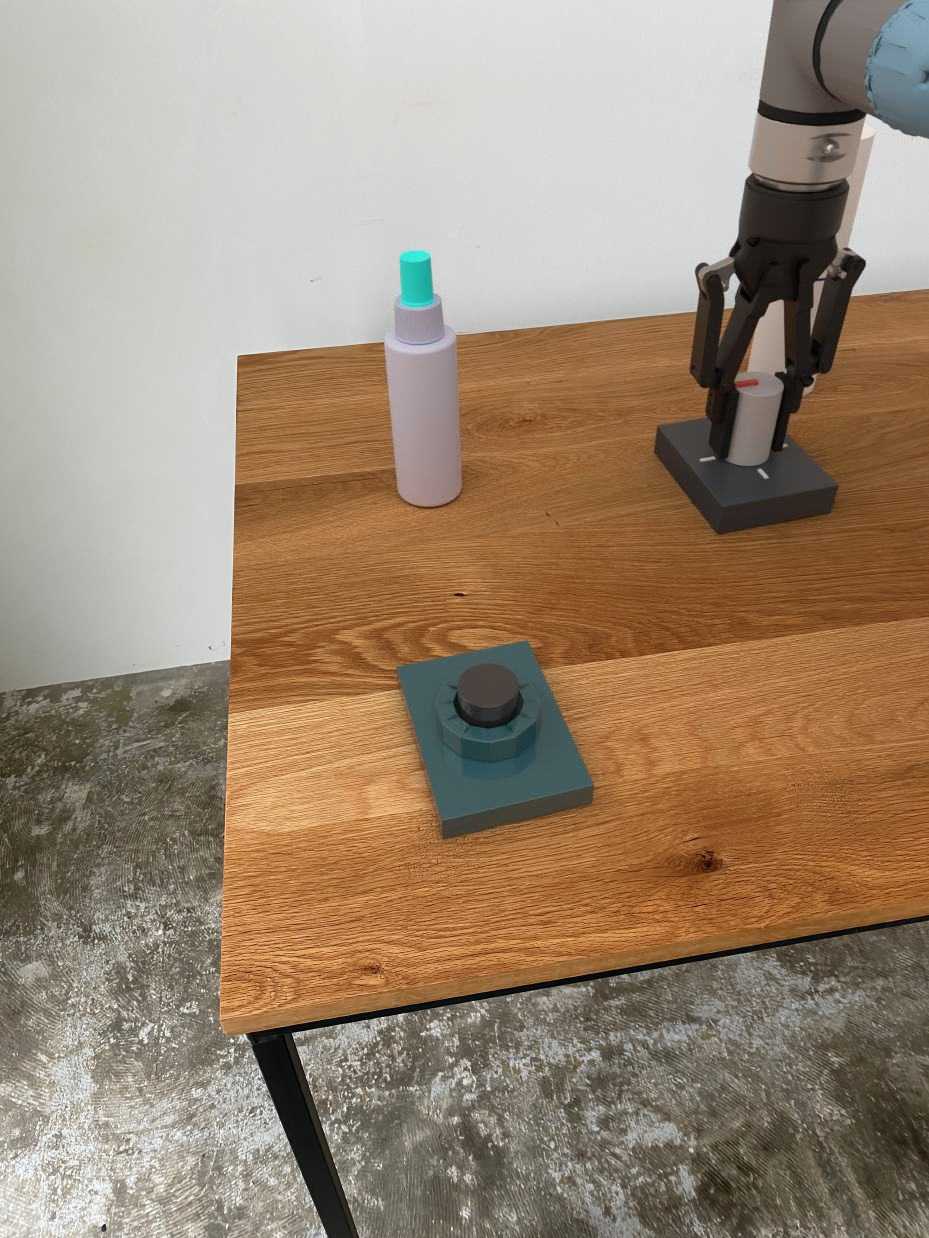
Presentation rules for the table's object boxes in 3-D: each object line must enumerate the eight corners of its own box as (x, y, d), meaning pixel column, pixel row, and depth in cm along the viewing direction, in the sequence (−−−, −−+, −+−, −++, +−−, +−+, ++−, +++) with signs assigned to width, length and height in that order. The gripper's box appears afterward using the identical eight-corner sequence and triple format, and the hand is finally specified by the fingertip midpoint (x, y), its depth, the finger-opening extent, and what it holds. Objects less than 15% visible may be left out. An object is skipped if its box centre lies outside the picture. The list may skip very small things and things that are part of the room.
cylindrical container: (732, 376, 102) (775, 126, 86) (782, 360, 105) (835, 114, 88) (776, 404, 98) (832, 146, 81) (828, 387, 100) (893, 132, 83)
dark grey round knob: (525, 721, 61) (526, 699, 60) (466, 734, 61) (466, 712, 59) (508, 679, 64) (508, 657, 63) (452, 691, 64) (450, 669, 62)
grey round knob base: (592, 804, 61) (596, 764, 58) (442, 839, 59) (439, 800, 56) (527, 658, 71) (528, 619, 68) (398, 685, 69) (393, 646, 66)
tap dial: (756, 438, 87) (771, 365, 82) (776, 463, 84) (793, 389, 79) (711, 443, 87) (724, 371, 82) (730, 469, 83) (744, 395, 79)
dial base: (831, 513, 83) (839, 483, 81) (717, 534, 81) (723, 504, 79) (756, 434, 93) (762, 406, 91) (653, 452, 92) (657, 423, 89)
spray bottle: (468, 504, 86) (460, 266, 71) (403, 513, 85) (381, 275, 70) (455, 469, 90) (445, 238, 76) (393, 477, 90) (371, 246, 75)
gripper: (704, 203, 66) (666, 482, 81) (935, 181, 68) (854, 457, 83) (668, 170, 71) (639, 437, 87) (882, 151, 73) (816, 415, 89)
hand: (744, 447), depth 85 cm, fingers closed on tap dial, 4 cm apart
